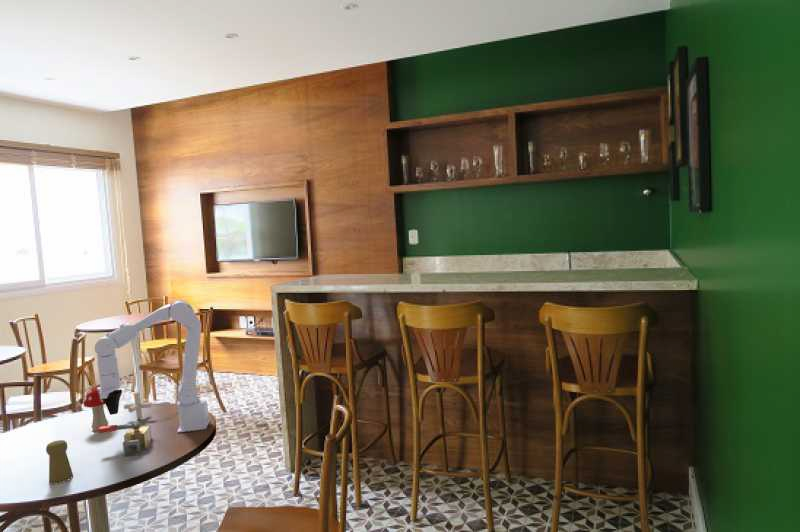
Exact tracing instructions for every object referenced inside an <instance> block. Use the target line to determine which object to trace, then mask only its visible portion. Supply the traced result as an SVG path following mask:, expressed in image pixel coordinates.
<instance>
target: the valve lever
mask: <svg viewBox="0 0 800 532" xmlns="http://www.w3.org/2000/svg"><path fill="white" fill-rule="evenodd" d="M141 426H142V425H141V422H140V421H136V422H135V421H134V422H133V423H126V424H119V425H117V424H114V425H111V424H110V425H108V426H104V427H100V428H99V429H98V431H97V433H98V434H103V433H112V432H116V431H120V430H121V431H122V430H128V429H136V428H139V427H141Z"/></svg>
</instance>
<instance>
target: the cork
mask: <svg viewBox="0 0 800 532" xmlns="http://www.w3.org/2000/svg"><path fill="white" fill-rule="evenodd" d="M67 449H68V443H67V441H66V440H64V439H59V440H54V441H52V442H49V443H48V444H47V445H46V449H45V451H46V454H47V455H48V457H49V458H48V459H49V460H48V462H49V463H48V465H49V466H48V478H49V479H48V483H49V484H50V483H58V484H61V483H60V482H62V483H64V482H63V481H65V482H67V481H66V480H68V479H70V478H71V477H72V478H73V477H74V474H73V471H72V466H71V464H70V461H69V458H68V454H67ZM72 478H71V479H72ZM71 479H70V480H71ZM68 481H69V480H68Z"/></svg>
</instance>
